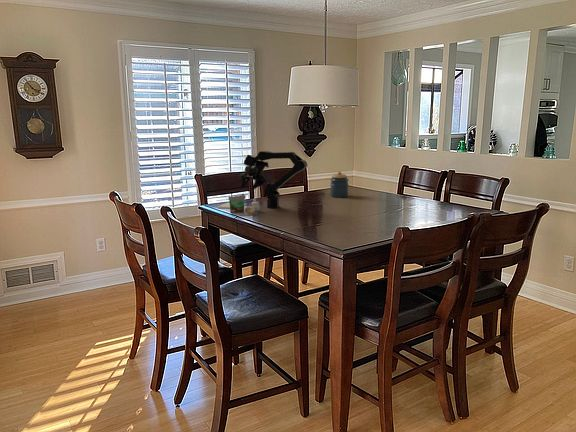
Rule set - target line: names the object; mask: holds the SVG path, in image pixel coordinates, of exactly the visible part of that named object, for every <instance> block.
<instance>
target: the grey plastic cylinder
mask: <svg viewBox="0 0 576 432" xmlns="http://www.w3.org/2000/svg"><path fill="white" fill-rule="evenodd" d="M250 206H254V207H255V213H257V212H260V202H259V201H252V202H250ZM256 211H257V212H256Z"/></svg>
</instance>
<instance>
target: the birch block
mask: <svg viewBox="0 0 576 432" xmlns="http://www.w3.org/2000/svg"><path fill="white" fill-rule="evenodd" d="M253 214H254V215H256V212H255V207H254V206H251V205H247V206H244V215H245V216H253Z"/></svg>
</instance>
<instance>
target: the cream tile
mask: <svg viewBox="0 0 576 432" xmlns="http://www.w3.org/2000/svg"><path fill="white" fill-rule="evenodd" d="M246 205H247V203H245V202H244V207H246ZM217 209H226V210H227V209H228V210H230V203H229V202H226V203H223V204H221V205H218V206H217Z"/></svg>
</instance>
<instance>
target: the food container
mask: <svg viewBox="0 0 576 432" xmlns="http://www.w3.org/2000/svg"><path fill="white" fill-rule="evenodd" d="M246 198H247V197H246V195H245V193H241V195H234V196H231V195H229V196H228V203H230V209H229V211H230V214H231V213H232V214H234V213H235V214H237V213H238V214H239V213H240V214H241V213H245V206H244V203H245V199H246Z"/></svg>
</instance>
